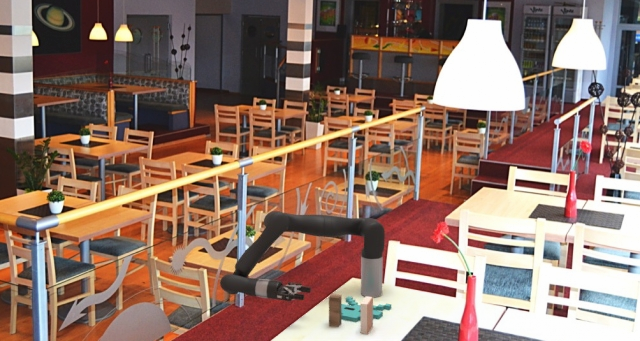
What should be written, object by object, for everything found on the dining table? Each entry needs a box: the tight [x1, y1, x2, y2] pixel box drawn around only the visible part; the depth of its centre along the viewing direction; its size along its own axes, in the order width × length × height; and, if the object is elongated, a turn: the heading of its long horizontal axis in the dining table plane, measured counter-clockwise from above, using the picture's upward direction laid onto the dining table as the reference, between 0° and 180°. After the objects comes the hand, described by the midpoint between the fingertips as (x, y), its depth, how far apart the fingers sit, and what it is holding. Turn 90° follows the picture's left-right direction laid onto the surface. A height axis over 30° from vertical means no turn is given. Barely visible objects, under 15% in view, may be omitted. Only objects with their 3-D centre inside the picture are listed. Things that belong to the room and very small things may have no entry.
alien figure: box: [341, 296, 392, 323], centre depth 337 cm, size 20×2×20 cm
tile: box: [360, 296, 374, 335], centre depth 319 cm, size 8×3×12 cm, turn 163°
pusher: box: [328, 293, 343, 328], centre depth 324 cm, size 4×4×12 cm
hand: (307, 293), depth 325 cm, fingers open, 8 cm apart
